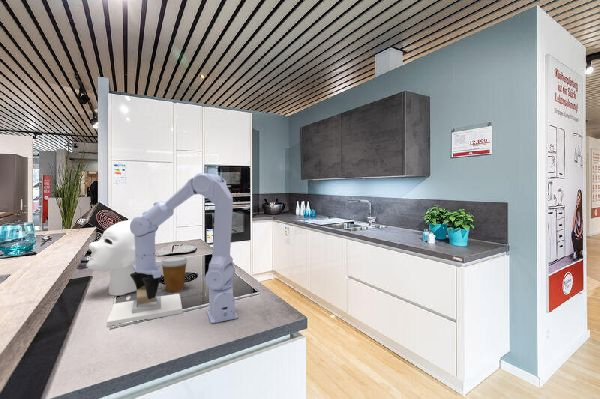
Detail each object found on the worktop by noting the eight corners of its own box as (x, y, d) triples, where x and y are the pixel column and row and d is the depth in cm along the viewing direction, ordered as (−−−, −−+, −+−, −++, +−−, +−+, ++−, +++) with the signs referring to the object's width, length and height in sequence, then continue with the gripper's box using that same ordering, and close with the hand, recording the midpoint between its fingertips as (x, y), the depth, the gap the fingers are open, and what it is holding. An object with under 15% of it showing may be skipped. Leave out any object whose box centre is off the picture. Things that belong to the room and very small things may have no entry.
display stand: (182, 313, 92) (182, 304, 91) (106, 327, 83) (106, 317, 83) (179, 297, 104) (179, 290, 104) (113, 308, 95) (113, 300, 95)
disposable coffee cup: (193, 286, 116) (192, 256, 115) (175, 294, 107) (175, 262, 106) (174, 283, 119) (173, 254, 118) (155, 291, 110) (154, 260, 109)
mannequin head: (137, 306, 107) (175, 236, 116) (69, 289, 93) (118, 210, 101) (124, 293, 119) (159, 231, 128) (62, 276, 105) (106, 207, 114)
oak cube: (149, 302, 91) (149, 290, 91) (137, 302, 91) (136, 290, 91) (156, 297, 95) (155, 285, 95) (143, 297, 95) (143, 285, 95)
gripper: (169, 254, 91) (171, 296, 92) (146, 248, 100) (148, 287, 101) (147, 259, 86) (148, 304, 87) (124, 252, 94) (126, 293, 95)
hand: (146, 295), depth 93 cm, fingers closed on oak cube, 6 cm apart
